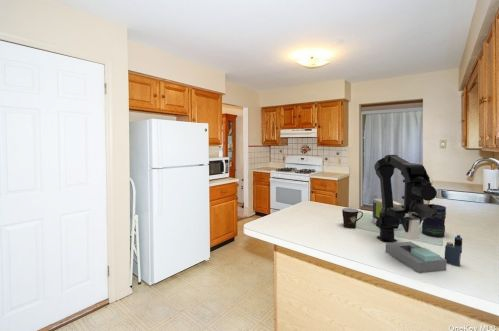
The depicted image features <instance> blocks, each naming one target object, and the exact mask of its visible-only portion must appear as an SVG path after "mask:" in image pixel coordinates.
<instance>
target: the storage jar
mask: <svg viewBox="0 0 499 331" xmlns="http://www.w3.org/2000/svg"><path fill="white" fill-rule="evenodd" d="M427 204H428V205H429V204H430V203H427ZM435 205H436V207H437V216H431V217H430V218H429V217H428V218H425V219H424V220H422V222H421V233H422V235H424V236H426V237H430V238H436V239H439V238H445V233H446V225H445V224H446V215H447V207H446V206H444V205H441V204H435Z"/></svg>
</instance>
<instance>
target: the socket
mask: <svg viewBox="0 0 499 331" xmlns="http://www.w3.org/2000/svg"><path fill="white" fill-rule="evenodd" d="M414 248H423V247H422V246H420V245H418V244H416V243H414V242H412V241H402V242H401V241H400V242H385V253H386V254H388V255H389V256H391V257H392V258H394V259H396V260H397V261H399V262H400V263H402V264H403V265H405V266H406V267H407V268H410V269H411V270H413V271H415V272H416V273H417V274H421V273H430V272H441V270H442V271H447V264H448V263H447V260H446V259H445V257H442V256H440V260H438V261H427V262H425V261H423V260H422V259H420V258H418V257H416V256H414V255H413V254H411V249H414Z"/></svg>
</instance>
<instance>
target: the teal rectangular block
mask: <svg viewBox="0 0 499 331" xmlns="http://www.w3.org/2000/svg"><path fill="white" fill-rule="evenodd" d="M411 254H413V255H414V256H416V257H418V258H420V259H422V260H423V261H425V262H427V261H438V260H440V257H441V256H440V254H438V253H437V252H434V251H432V250H430V249H428V248H427V247H422V248H414V249H411Z"/></svg>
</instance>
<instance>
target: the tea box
mask: <svg viewBox="0 0 499 331" xmlns="http://www.w3.org/2000/svg"><path fill="white" fill-rule="evenodd" d="M393 206H394V208H399V209H402V210H404V209H403V208H401V207H402V206H404V203H401V202H398V201H396V200H393ZM381 210H382V198H372V221H371V222H372V223H374V224H375V225H376V221H377V220H378V218H379V213H380V211H381ZM394 231H403V226H402V224H401V222H400V223H399V227H398V229H394Z"/></svg>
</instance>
